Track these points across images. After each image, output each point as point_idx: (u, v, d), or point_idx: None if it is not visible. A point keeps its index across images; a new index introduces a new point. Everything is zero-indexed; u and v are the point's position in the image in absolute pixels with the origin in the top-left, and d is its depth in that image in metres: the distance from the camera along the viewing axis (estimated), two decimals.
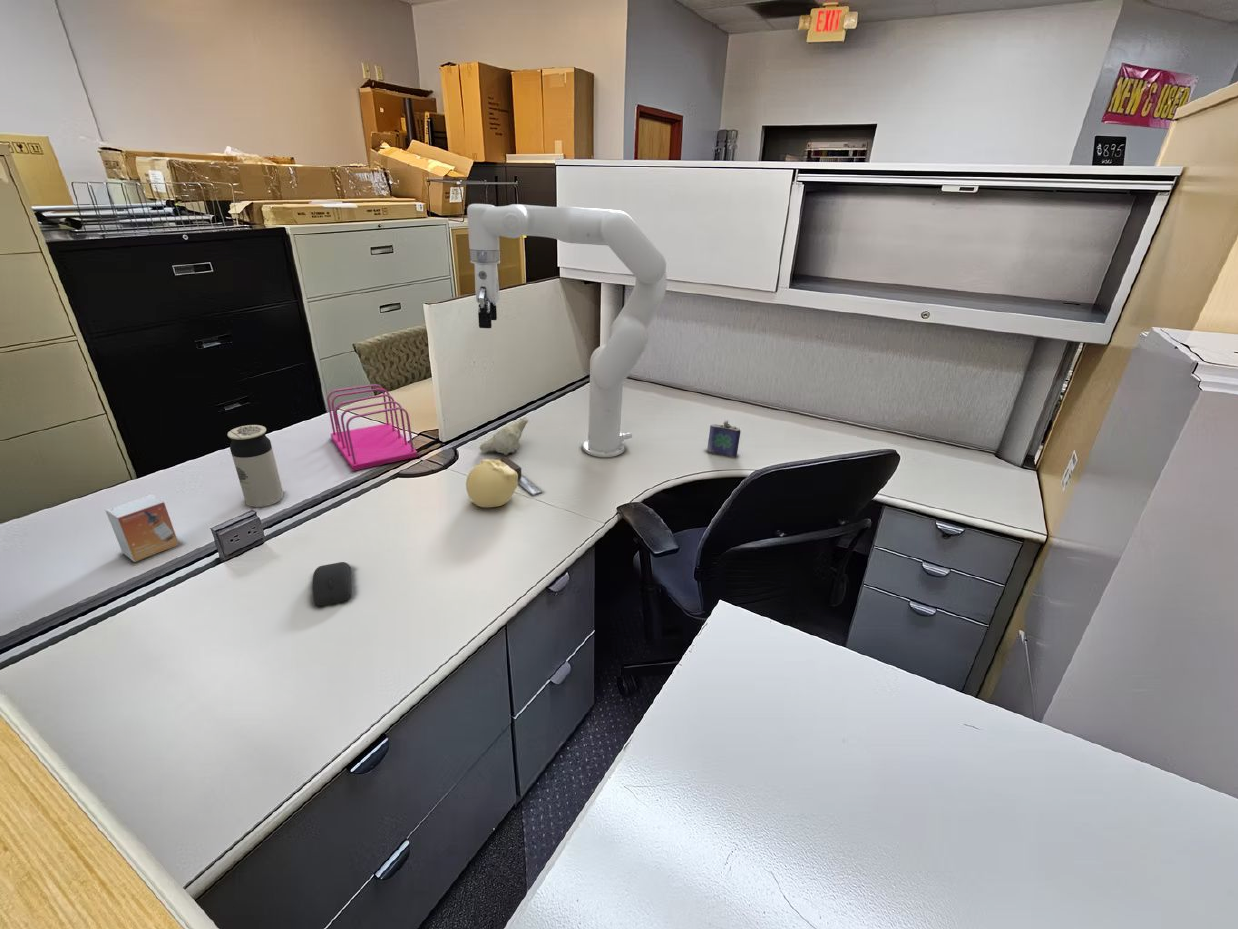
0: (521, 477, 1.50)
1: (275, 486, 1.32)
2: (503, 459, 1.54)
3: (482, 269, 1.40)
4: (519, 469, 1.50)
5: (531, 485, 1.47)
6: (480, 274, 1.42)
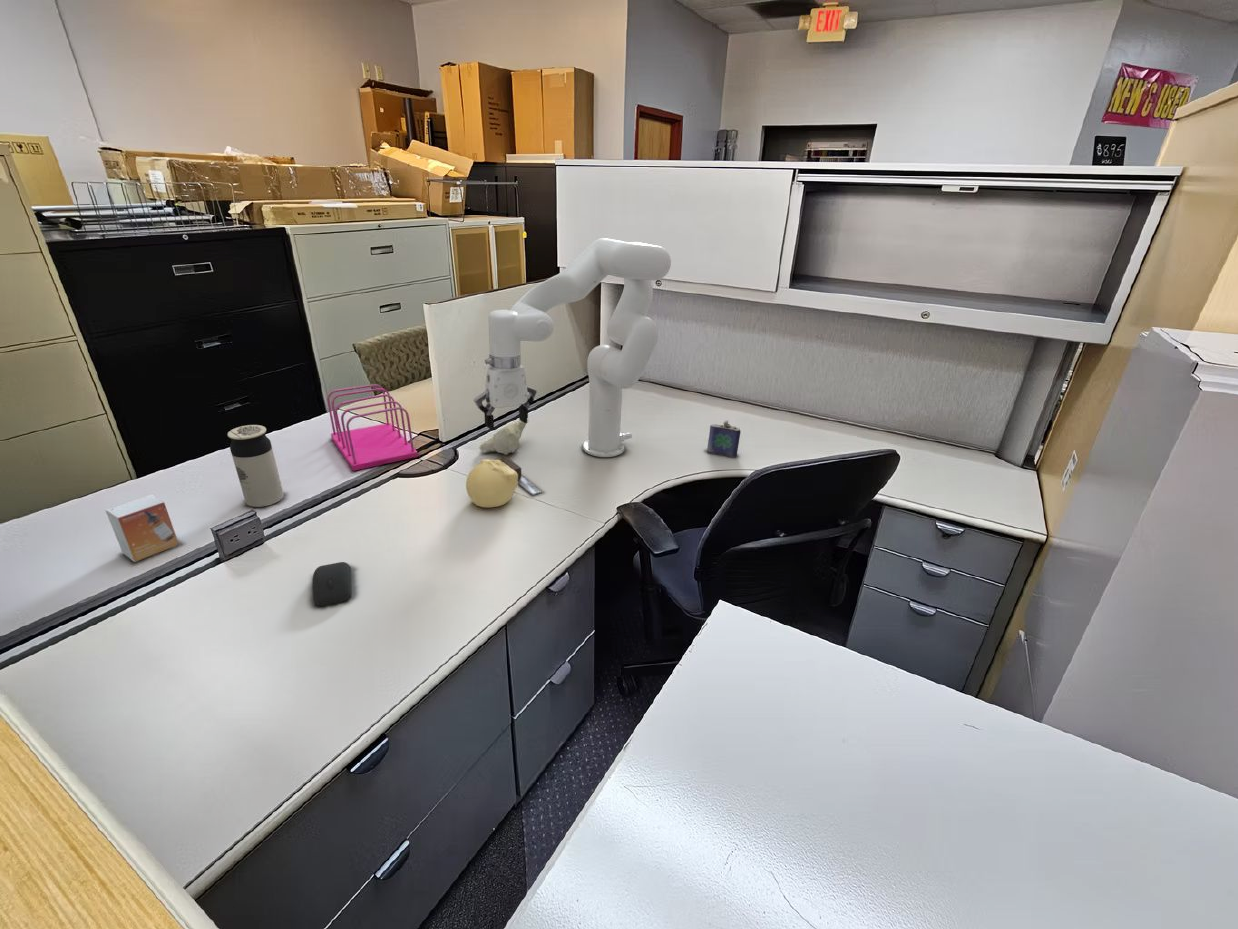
0: (521, 477, 1.50)
1: (275, 486, 1.32)
2: (503, 459, 1.54)
3: (488, 373, 1.38)
4: (519, 469, 1.50)
5: (531, 485, 1.47)
6: None
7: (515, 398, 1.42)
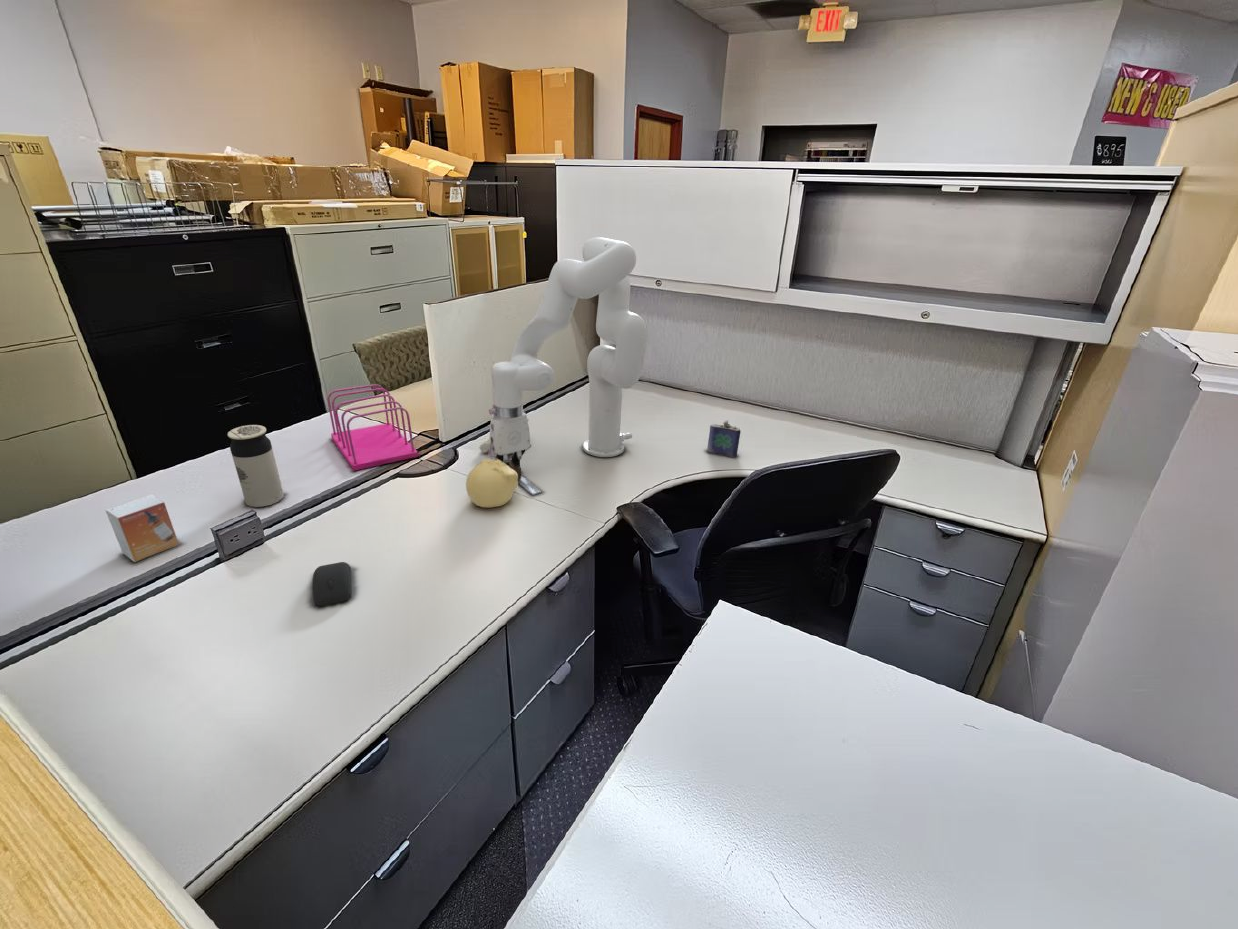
0: (521, 477, 1.50)
1: (275, 486, 1.32)
2: None
3: (492, 422, 1.44)
4: (519, 469, 1.50)
5: (531, 485, 1.47)
6: None
7: (518, 444, 1.48)
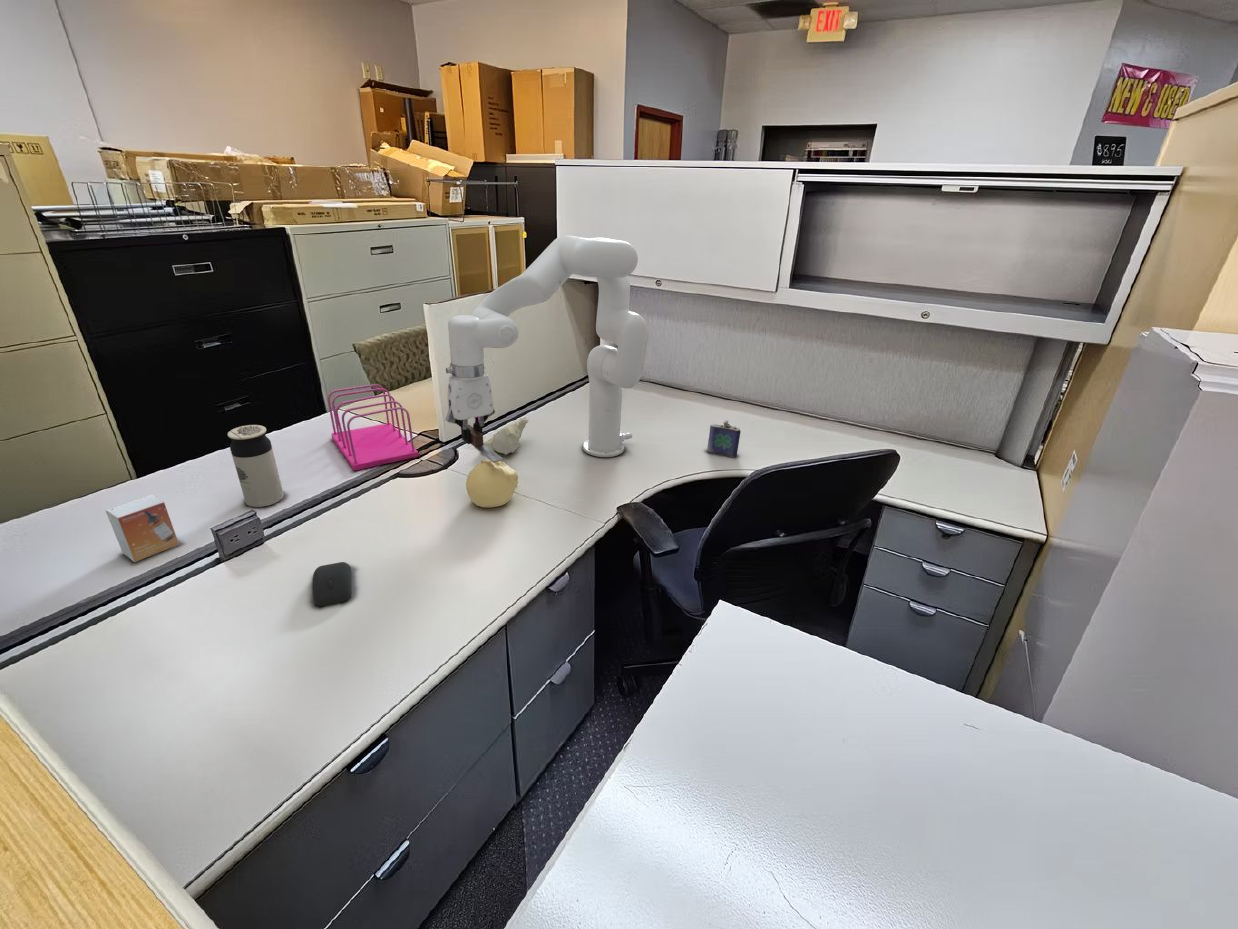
0: (483, 445, 1.37)
1: (275, 486, 1.32)
2: None
3: (450, 382, 1.30)
4: (481, 436, 1.36)
5: (493, 453, 1.33)
6: None
7: (479, 408, 1.34)
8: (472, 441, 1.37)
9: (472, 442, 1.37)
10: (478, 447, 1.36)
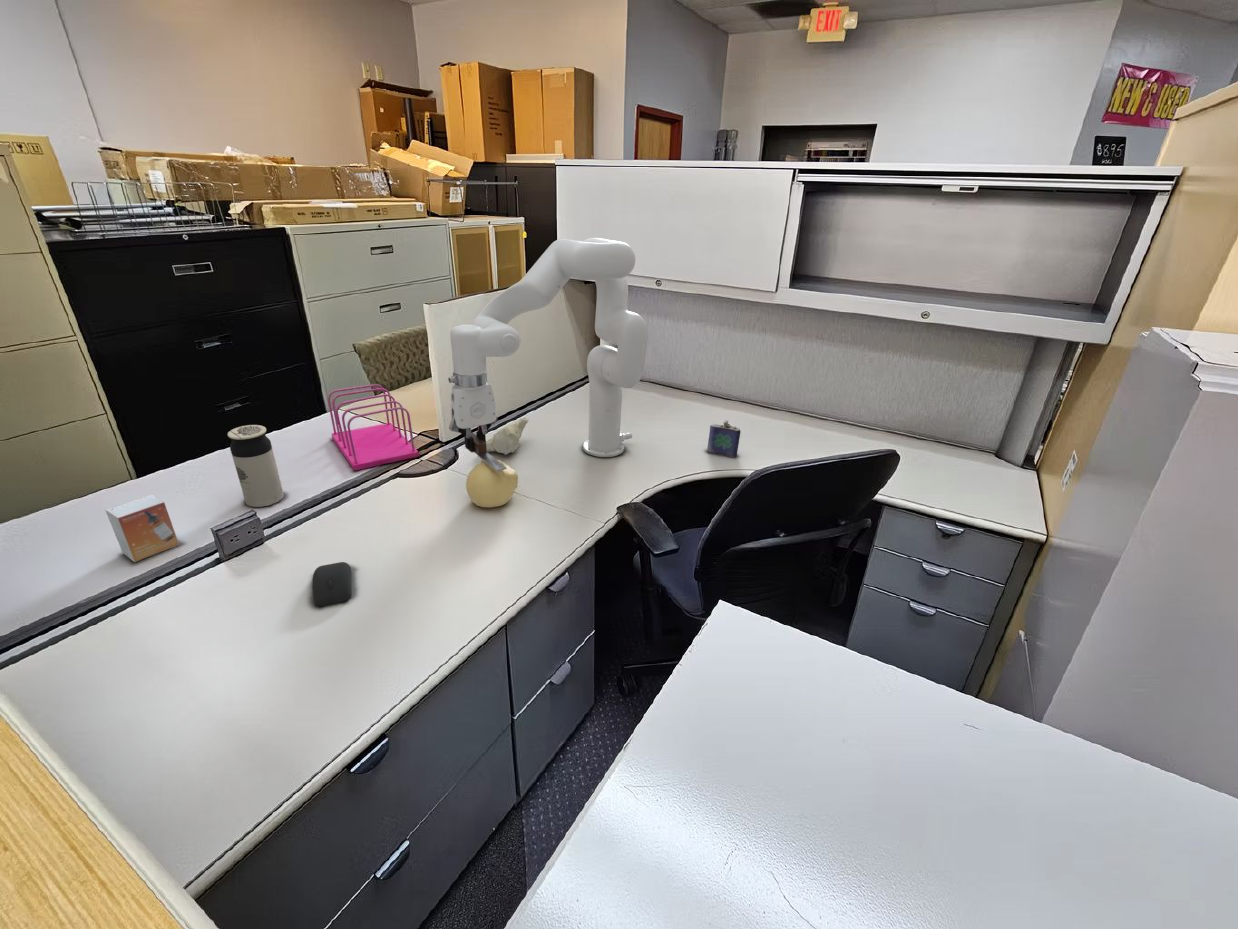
0: (486, 453, 1.37)
1: (275, 486, 1.32)
2: None
3: (452, 392, 1.30)
4: (484, 444, 1.37)
5: (496, 461, 1.33)
6: None
7: (482, 417, 1.35)
8: (476, 449, 1.37)
9: (475, 450, 1.37)
10: (481, 455, 1.36)
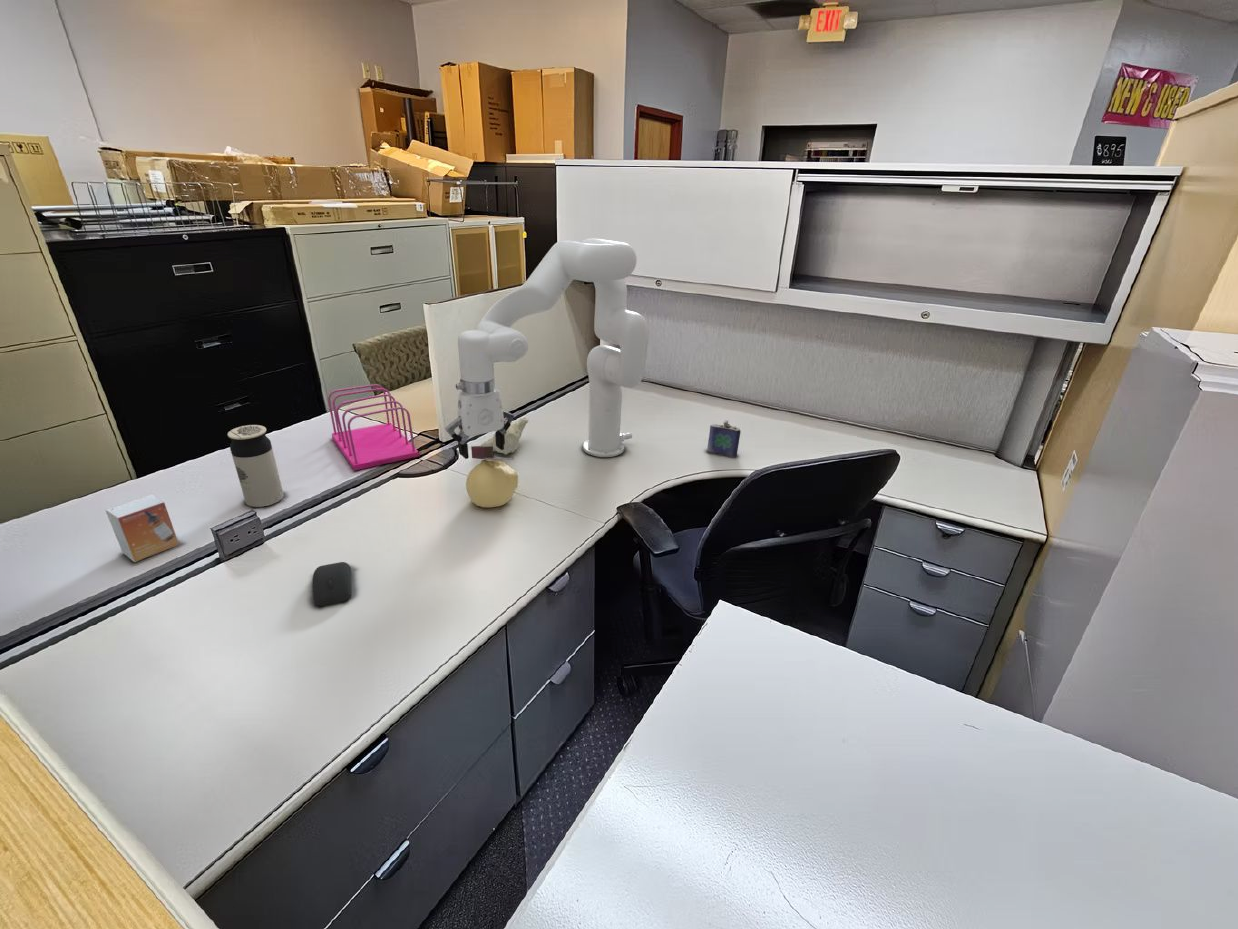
0: (493, 457, 1.34)
1: (275, 486, 1.32)
2: (474, 446, 1.39)
3: (460, 398, 1.28)
4: (490, 448, 1.35)
5: None
6: None
7: (490, 424, 1.32)
8: (482, 454, 1.35)
9: (482, 455, 1.35)
10: (488, 457, 1.33)
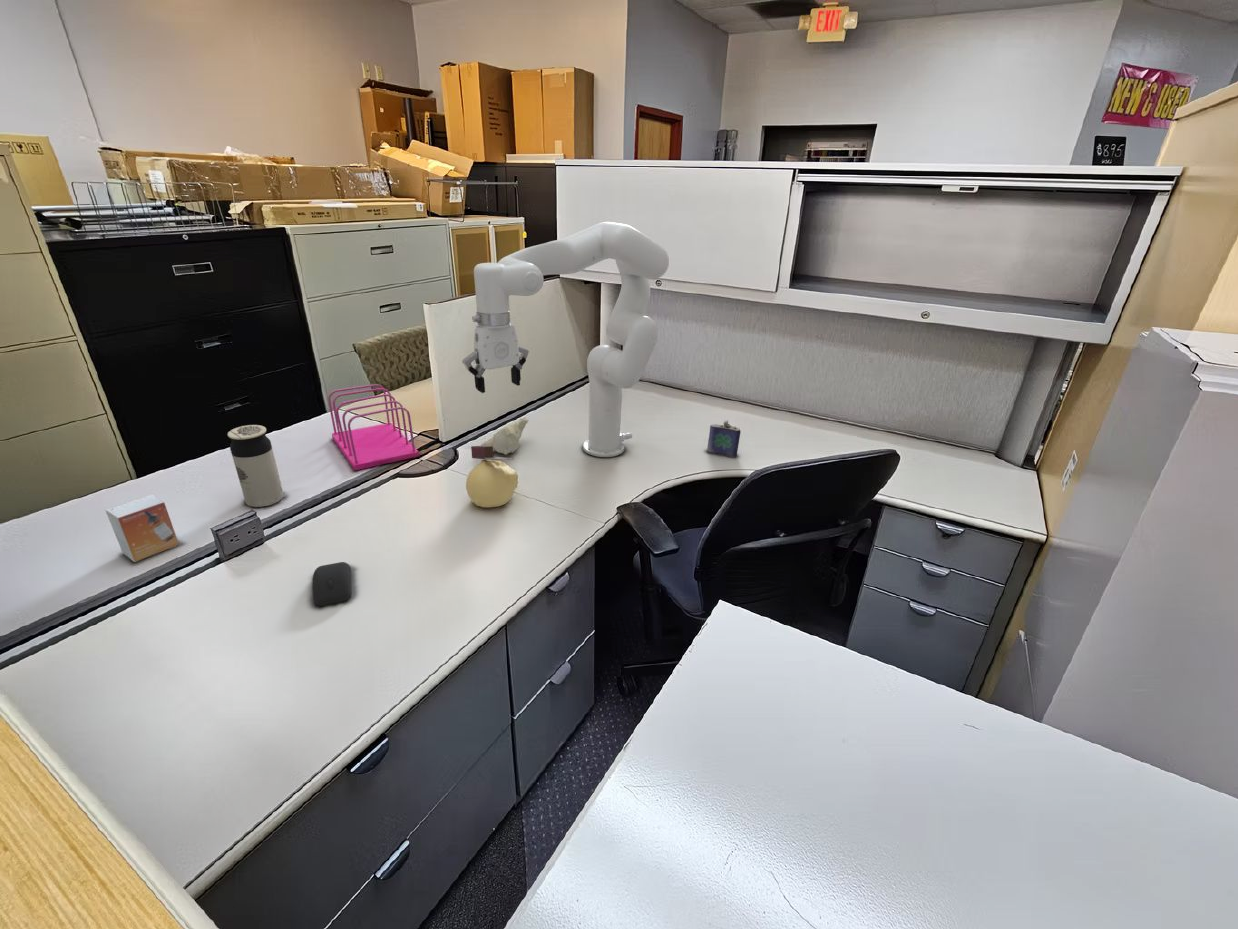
0: (493, 457, 1.34)
1: (275, 486, 1.32)
2: (474, 446, 1.39)
3: (476, 331, 1.30)
4: (490, 448, 1.35)
5: None
6: None
7: (506, 358, 1.35)
8: (482, 454, 1.35)
9: (482, 455, 1.35)
10: (488, 457, 1.33)
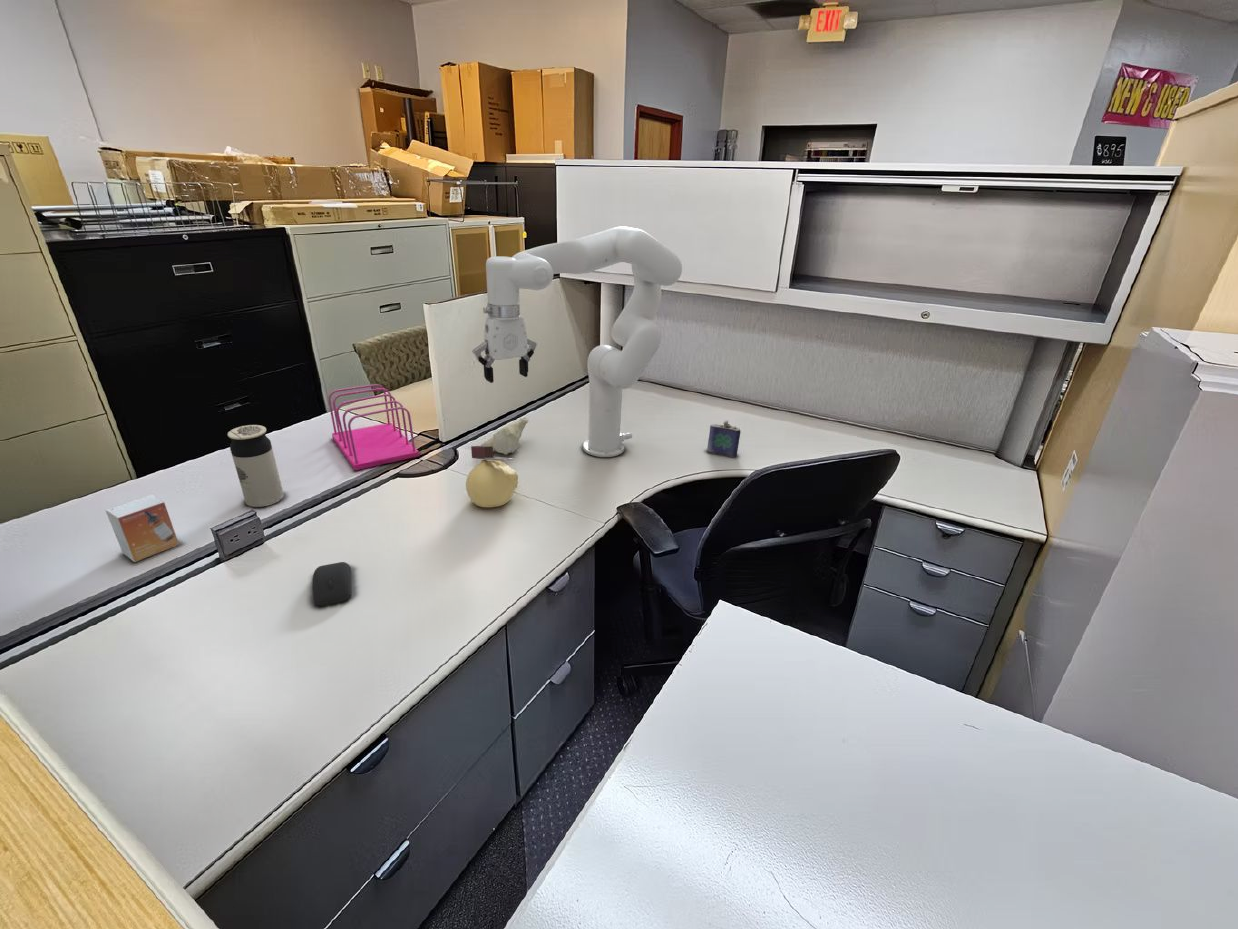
0: (493, 457, 1.35)
1: (275, 486, 1.32)
2: (474, 446, 1.40)
3: (487, 322, 1.34)
4: (490, 448, 1.35)
5: None
6: None
7: (515, 349, 1.39)
8: (482, 454, 1.35)
9: (482, 455, 1.35)
10: (488, 457, 1.33)
